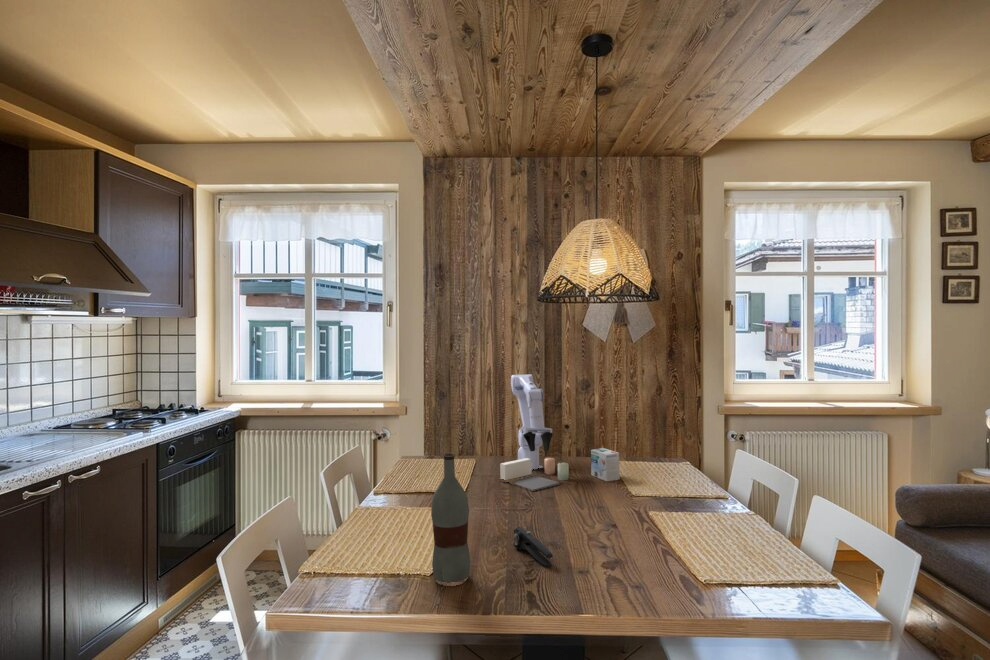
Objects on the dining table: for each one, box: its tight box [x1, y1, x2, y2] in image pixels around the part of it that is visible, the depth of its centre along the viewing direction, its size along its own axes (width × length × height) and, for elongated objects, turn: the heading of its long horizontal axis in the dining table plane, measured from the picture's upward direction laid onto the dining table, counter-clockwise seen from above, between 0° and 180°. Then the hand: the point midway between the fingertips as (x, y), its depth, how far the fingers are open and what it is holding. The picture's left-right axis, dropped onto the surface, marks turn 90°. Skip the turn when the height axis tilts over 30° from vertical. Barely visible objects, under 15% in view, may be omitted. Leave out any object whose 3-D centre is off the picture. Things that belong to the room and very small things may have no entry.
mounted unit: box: [499, 458, 534, 480], centre depth 212 cm, size 4×15×7 cm, turn 128°
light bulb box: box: [590, 447, 621, 482], centre depth 211 cm, size 11×7×11 cm, turn 25°
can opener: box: [513, 526, 554, 568], centre depth 138 cm, size 18×7×6 cm, turn 23°
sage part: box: [557, 462, 570, 481], centre depth 210 cm, size 4×4×6 cm
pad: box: [515, 475, 561, 492], centre depth 203 cm, size 14×14×1 cm
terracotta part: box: [543, 457, 556, 475], centre depth 220 cm, size 4×4×6 cm
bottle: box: [430, 453, 471, 583], centre depth 126 cm, size 9×9×30 cm
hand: (539, 451), depth 213 cm, fingers open, 7 cm apart
